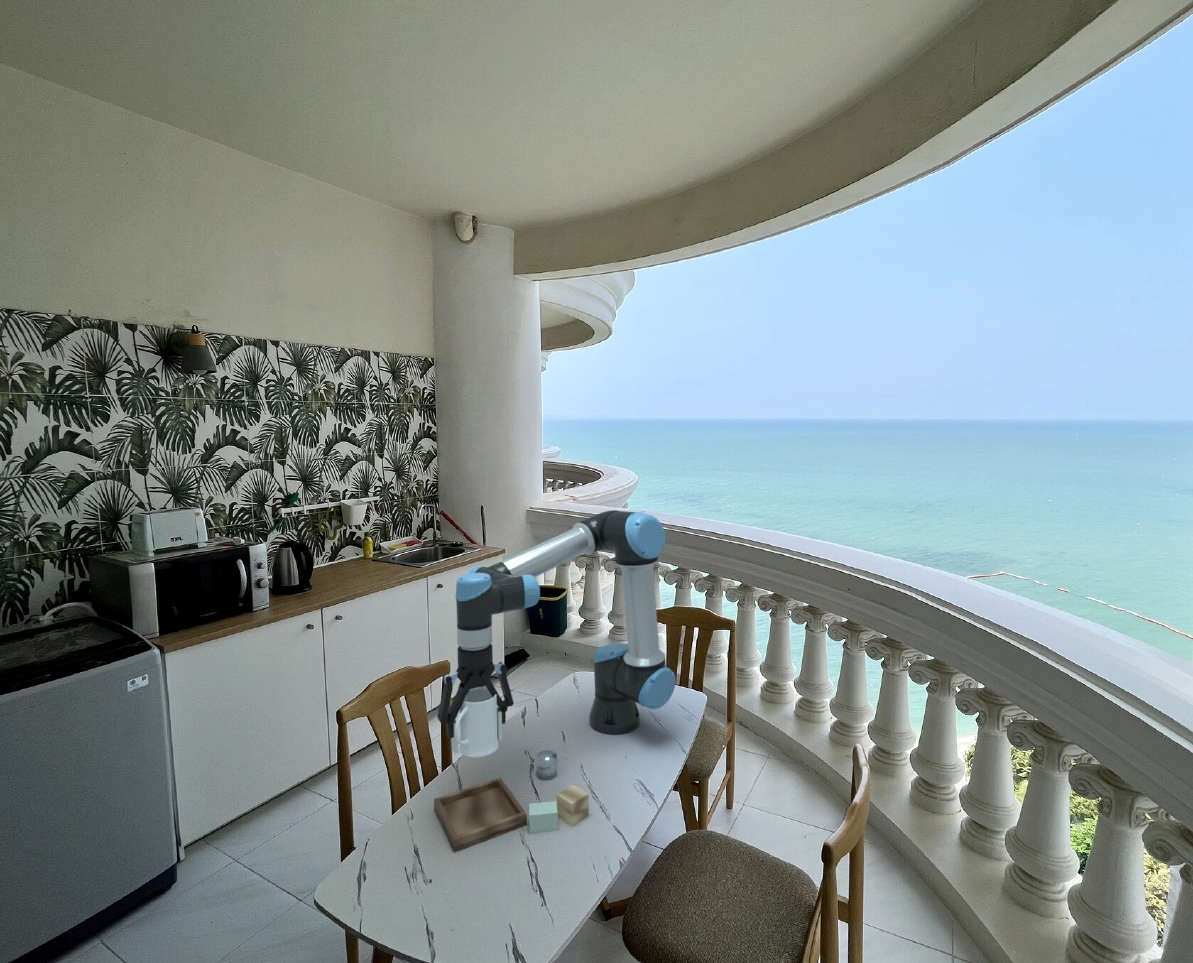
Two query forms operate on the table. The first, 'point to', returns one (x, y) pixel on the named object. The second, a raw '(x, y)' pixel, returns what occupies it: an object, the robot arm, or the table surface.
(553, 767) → the grey tin
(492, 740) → the mug
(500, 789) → the tray
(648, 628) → the robot arm
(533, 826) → the sage block
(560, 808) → the oak block
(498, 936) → the table surface
